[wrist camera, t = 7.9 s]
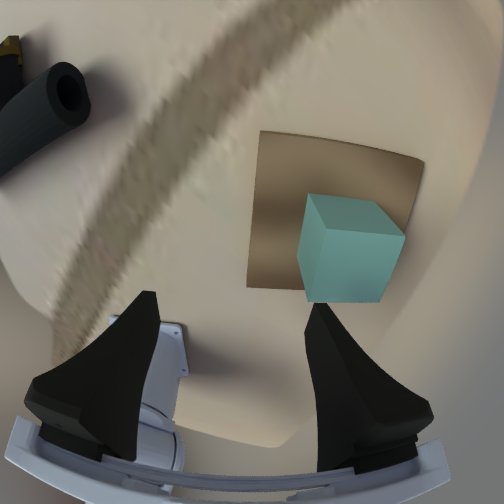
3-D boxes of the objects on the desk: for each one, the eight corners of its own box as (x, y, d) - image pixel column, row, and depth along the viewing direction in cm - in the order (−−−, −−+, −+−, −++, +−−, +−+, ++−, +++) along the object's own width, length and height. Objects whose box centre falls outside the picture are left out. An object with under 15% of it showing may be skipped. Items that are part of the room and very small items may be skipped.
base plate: (376, 284, 24) (392, 315, 20) (246, 279, 23) (246, 314, 20) (417, 158, 17) (447, 176, 14) (259, 130, 17) (262, 140, 13)
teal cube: (357, 259, 21) (379, 302, 17) (296, 255, 21) (307, 301, 16) (374, 201, 18) (406, 236, 14) (308, 193, 18) (326, 228, 14)
